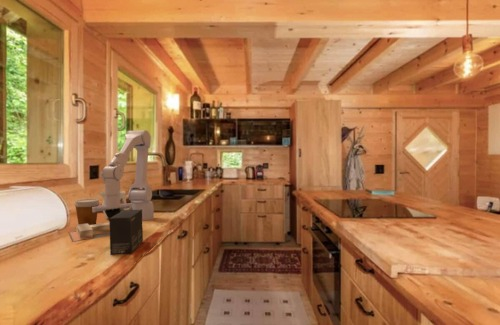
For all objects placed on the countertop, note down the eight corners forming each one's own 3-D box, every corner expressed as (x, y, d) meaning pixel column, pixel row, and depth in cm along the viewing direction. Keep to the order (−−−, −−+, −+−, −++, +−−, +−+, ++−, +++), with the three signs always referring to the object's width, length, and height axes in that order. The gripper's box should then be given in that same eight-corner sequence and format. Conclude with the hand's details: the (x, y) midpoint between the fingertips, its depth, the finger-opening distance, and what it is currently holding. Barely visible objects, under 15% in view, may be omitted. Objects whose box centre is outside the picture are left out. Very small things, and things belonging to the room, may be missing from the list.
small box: (123, 242, 97) (123, 209, 97) (143, 241, 98) (143, 209, 98) (109, 255, 84) (108, 217, 84) (131, 254, 85) (131, 217, 85)
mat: (123, 225, 121) (123, 224, 121) (133, 233, 108) (133, 231, 108) (68, 233, 108) (68, 232, 108) (72, 243, 95) (72, 242, 95)
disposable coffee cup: (104, 225, 121) (104, 199, 121) (90, 230, 112) (89, 202, 111) (85, 224, 122) (84, 198, 122) (69, 230, 113) (68, 202, 112)
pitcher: (138, 216, 139) (138, 190, 139) (102, 222, 126) (101, 193, 125) (129, 213, 147) (128, 188, 146) (93, 219, 133) (93, 191, 133)
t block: (106, 227, 114) (106, 220, 114) (112, 233, 105) (112, 226, 105) (76, 232, 108) (76, 224, 108) (80, 239, 98) (80, 231, 98)
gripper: (94, 197, 103) (94, 232, 103) (133, 194, 112) (133, 226, 112) (91, 195, 108) (91, 228, 108) (129, 192, 117) (129, 223, 117)
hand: (112, 227), depth 111 cm, fingers closed
